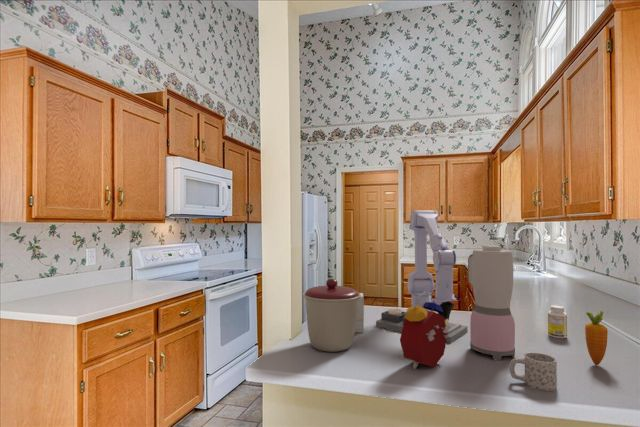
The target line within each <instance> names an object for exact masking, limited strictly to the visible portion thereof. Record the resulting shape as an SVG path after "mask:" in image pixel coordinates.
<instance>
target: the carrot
mask: <svg viewBox="0 0 640 427" xmlns="http://www.w3.org/2000/svg"><path fill="white" fill-rule="evenodd" d="M585 313H586V314H585V315H587V317H588V318H589V320H590V321H591V322H587V323H586V324H585V326H584V327H585V328H584V330H585V331H584V333H585V342H586V343H585V344H586V348H587V352H588V354H589V356H590V357H589V358H590V359H591V361H592V363H593V364H594V365H595V366H596V367H597V366H598V365H600V364H601V362H602V361H603V359H604V357H605V355H606V351H607V347H608V332H609V331H608V328H607V327H606V326H605V325H604V324H602V323H600V322H602V320H604V318H603V315H604V314H605V313H604V311H603V310H600V311H599V313H596V315H595V316H594V315H593V313H592V312H590V311H586V312H585Z"/></svg>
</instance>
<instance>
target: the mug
mask: <svg viewBox="0 0 640 427" xmlns="http://www.w3.org/2000/svg"><path fill="white" fill-rule="evenodd" d="M517 364H521V365H524V374H516V371H515V370H516V369H515V366H516V365H517ZM557 365H558V364H557V358H555V357H554V356H552V355H550V354H546V353H541V352H526V353H524V357H521V358H513V359H511V360H510V363H509V372H510V373H509V374H510V376H511V378H512V379H515V380H518V381H522V382H524V384H525V385H526V386H528V387H530V388H531V387H532V389H534V390H537V391H540V392H541V391H543V392H555V391H557V388H558V387H557V386H558V383H557V382H558V378H557V376H558V375H557V374H558V373H557V370H558V368H557Z"/></svg>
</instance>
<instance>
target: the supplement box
mask: <svg viewBox="0 0 640 427" xmlns="http://www.w3.org/2000/svg"><path fill="white" fill-rule="evenodd" d="M359 293H360V294H361V296H360V298H359V299H358V309H357V318H356V326H355V333H360V334H361V333H363V334H364V332H365V331H364V325H365V320H364V319H365V318H364V316H365V315H364V314H365V313H364V311H365V310H364V309H365V308H364V307H365V306H364V305H365V302H364V300H365V299H364V298H365V297H364V293H362V292H359Z"/></svg>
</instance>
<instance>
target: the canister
mask: <svg viewBox="0 0 640 427" xmlns="http://www.w3.org/2000/svg"><path fill="white" fill-rule="evenodd" d="M325 284H326V285H319V286H318V285H317V286H313V287H310V288H308V289H306V290H305V291H304V292H303V293H302V296H303V298H304V300H305V301H304V302H305V303H304V304H305V312H306V324H307V331H308V337H309V342H310V344H311V346H312V347H313V348H315V350H317V351H318V350H319V351H321V352H327V353H329V352H330V353H331V352H332V353H338V352H341V351H346V350H348V349H349V348H351V346H352V345H353V342H354V338H355V333H356V332H355V326H356V318H357V309H358V299H359V298H360V296H361V294H360V293H361V292H358V291H357V290H356V289H354V288H353V287H350V286H349V287H348V286H344V285H343V286H342V285H338V280H337V279H335V278H329V279H327V280H326V282H325Z"/></svg>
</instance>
